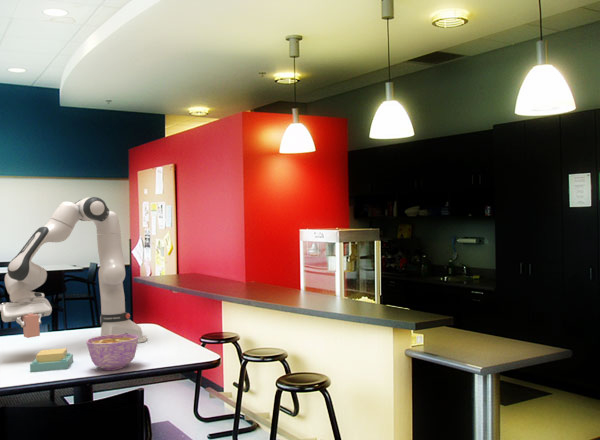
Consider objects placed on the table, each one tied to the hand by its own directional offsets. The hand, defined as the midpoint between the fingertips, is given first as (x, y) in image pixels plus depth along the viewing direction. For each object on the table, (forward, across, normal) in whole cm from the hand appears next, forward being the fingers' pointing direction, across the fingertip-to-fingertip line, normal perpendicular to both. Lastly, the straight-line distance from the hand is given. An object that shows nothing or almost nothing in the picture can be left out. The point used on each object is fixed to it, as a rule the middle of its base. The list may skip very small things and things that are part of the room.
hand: (31, 324), depth 256 cm
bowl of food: (+40, +17, -17) cm, 47 cm away
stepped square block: (+23, +1, -2) cm, 23 cm away
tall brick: (+3, 0, +4) cm, 5 cm away
